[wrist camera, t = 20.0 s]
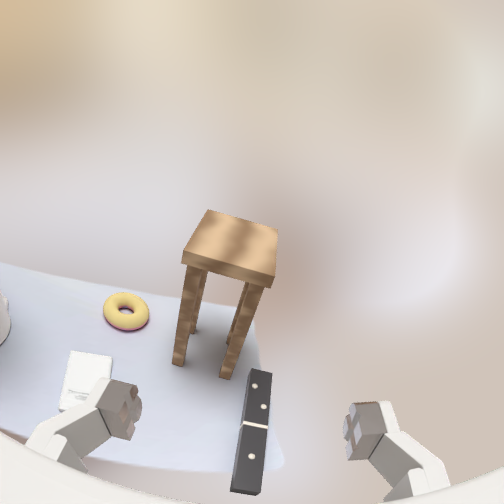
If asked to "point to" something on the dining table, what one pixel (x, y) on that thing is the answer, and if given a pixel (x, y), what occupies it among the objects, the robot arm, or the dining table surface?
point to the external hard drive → (82, 377)
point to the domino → (252, 435)
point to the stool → (228, 264)
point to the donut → (126, 320)
